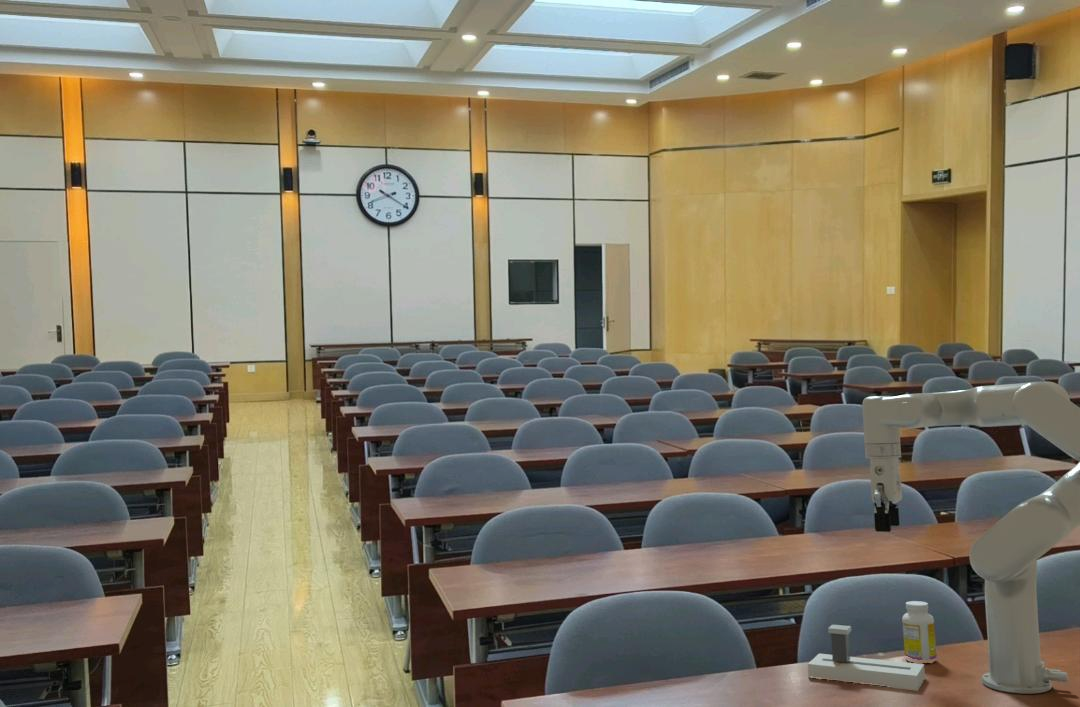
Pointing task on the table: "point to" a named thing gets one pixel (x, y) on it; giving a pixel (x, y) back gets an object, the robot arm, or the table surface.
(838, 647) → the fader tab
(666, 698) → the table surface
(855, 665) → the block
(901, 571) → the table surface
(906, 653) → the supplement bottle
